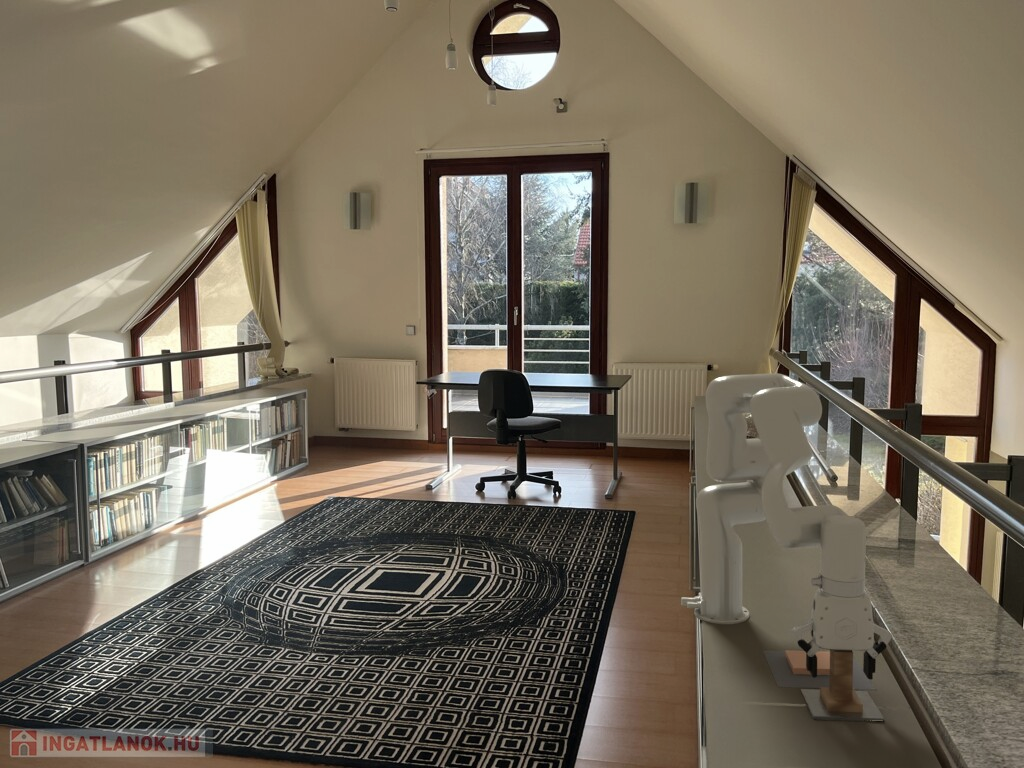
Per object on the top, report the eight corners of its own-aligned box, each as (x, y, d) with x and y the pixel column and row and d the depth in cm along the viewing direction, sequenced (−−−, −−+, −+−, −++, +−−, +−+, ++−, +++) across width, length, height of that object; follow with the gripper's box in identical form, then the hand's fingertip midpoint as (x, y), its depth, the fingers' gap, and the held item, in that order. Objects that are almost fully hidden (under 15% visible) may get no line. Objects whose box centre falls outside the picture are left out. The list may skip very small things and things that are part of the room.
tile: (785, 656, 167) (793, 674, 159) (785, 650, 167) (793, 667, 159) (835, 658, 166) (846, 676, 158) (835, 651, 166) (846, 669, 158)
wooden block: (827, 710, 145) (828, 655, 144) (819, 694, 151) (820, 640, 150) (862, 712, 144) (863, 656, 143) (853, 695, 150) (853, 641, 149)
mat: (777, 688, 155) (777, 686, 155) (762, 652, 170) (762, 650, 170) (876, 691, 152) (876, 689, 152) (851, 654, 168) (851, 652, 168)
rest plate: (813, 719, 143) (813, 716, 143) (800, 692, 153) (800, 689, 153) (884, 721, 142) (884, 718, 142) (866, 694, 152) (866, 691, 151)
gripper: (797, 591, 142) (795, 683, 144) (899, 593, 140) (897, 686, 142) (788, 576, 150) (787, 664, 152) (885, 578, 148) (883, 667, 150)
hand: (840, 675), depth 147 cm, fingers open, 9 cm apart
